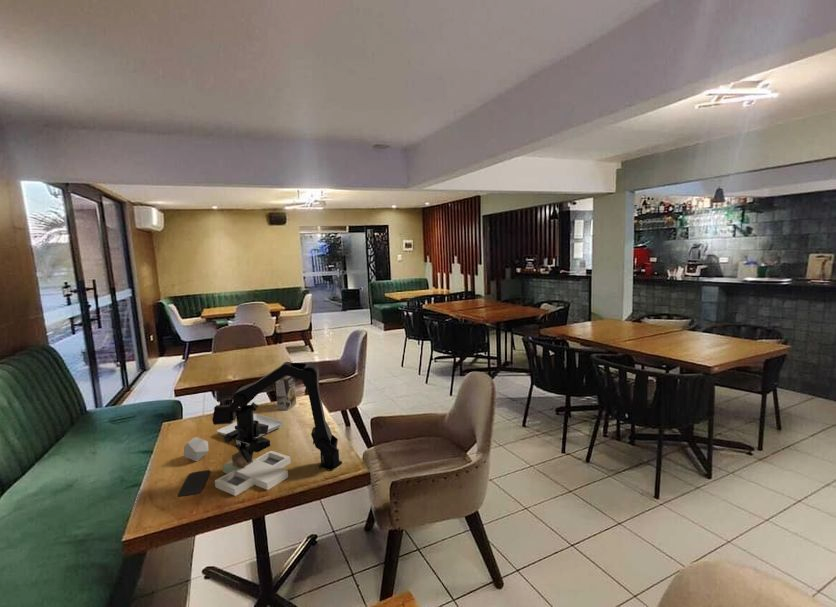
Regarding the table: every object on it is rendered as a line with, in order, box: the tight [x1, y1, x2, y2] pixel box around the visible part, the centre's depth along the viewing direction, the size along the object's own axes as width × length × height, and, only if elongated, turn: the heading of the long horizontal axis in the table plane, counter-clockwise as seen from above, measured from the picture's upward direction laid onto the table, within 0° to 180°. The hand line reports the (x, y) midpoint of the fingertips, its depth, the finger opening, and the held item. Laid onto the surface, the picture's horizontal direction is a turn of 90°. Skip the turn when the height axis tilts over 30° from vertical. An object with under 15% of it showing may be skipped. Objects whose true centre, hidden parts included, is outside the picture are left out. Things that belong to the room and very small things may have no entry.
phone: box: [177, 469, 211, 498], centre depth 145 cm, size 7×1×15 cm
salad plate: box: [216, 413, 284, 439], centre depth 185 cm, size 21×21×3 cm
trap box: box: [214, 450, 292, 497], centre depth 149 cm, size 25×24×2 cm
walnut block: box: [231, 451, 253, 468], centre depth 152 cm, size 5×5×4 cm
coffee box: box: [275, 375, 297, 411], centre depth 214 cm, size 9×6×16 cm
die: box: [183, 436, 209, 462], centre depth 162 cm, size 8×9×10 cm
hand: (249, 462), depth 150 cm, fingers closed
